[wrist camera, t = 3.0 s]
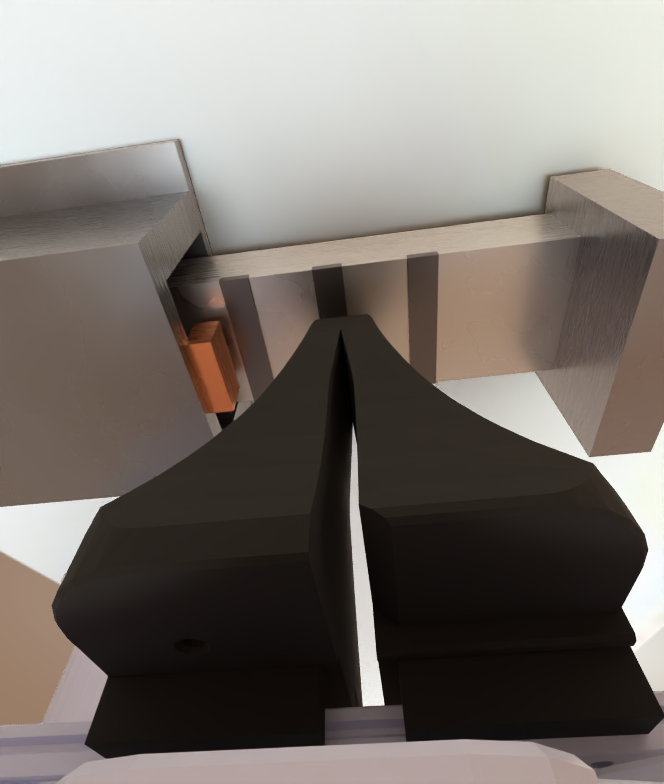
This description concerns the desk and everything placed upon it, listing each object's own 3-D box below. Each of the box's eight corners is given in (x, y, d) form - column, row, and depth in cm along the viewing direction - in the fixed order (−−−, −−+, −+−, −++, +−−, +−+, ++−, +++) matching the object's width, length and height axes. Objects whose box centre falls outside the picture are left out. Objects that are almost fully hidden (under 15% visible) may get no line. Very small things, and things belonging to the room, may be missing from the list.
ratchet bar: (567, 347, 14) (650, 451, 10) (-8, 408, 16) (-111, 519, 12) (608, 168, 11) (748, 228, 7) (-118, 264, 12) (-304, 355, 9)
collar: (276, 415, 16) (263, 509, 13) (53, 437, 17) (-15, 533, 14) (202, 135, 11) (146, 174, 8) (-124, 183, 11) (-308, 238, 8)
